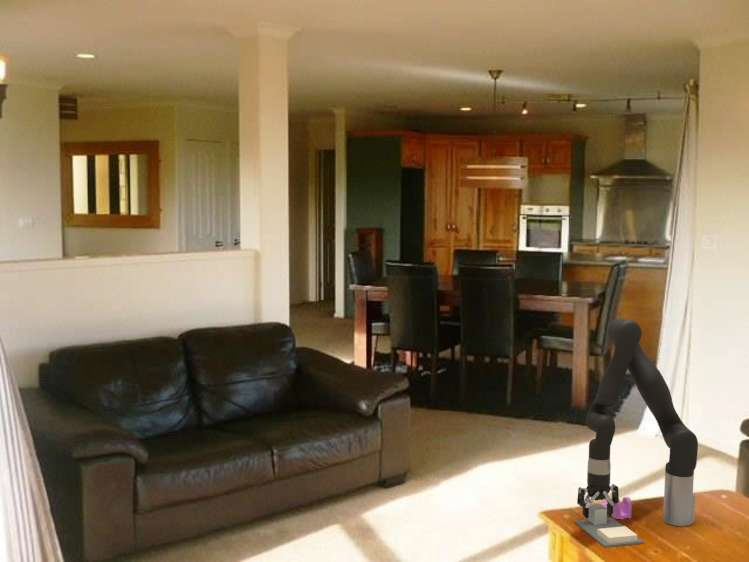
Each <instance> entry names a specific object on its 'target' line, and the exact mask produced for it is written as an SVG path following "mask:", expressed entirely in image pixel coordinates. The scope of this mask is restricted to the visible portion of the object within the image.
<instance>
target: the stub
mask: <svg viewBox="0 0 749 562" xmlns="http://www.w3.org/2000/svg"><path fill="white" fill-rule="evenodd" d="M588 508H589V518H587V520H589V521H590V522H591V523H593V524H594V525H601V524H606V521H607V518H608V517H607V516H608V515H607V508H605V507H604V506H603V505H601V503H599V502H598V503H591V504H590V505H589V507H588Z"/></svg>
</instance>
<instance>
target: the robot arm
mask: <svg viewBox="0 0 749 562" xmlns="http://www.w3.org/2000/svg"><path fill="white" fill-rule="evenodd" d="M642 333H643V330H642V328H641V325H640V324H639V323H638V322H636V321H635V320H632V319H628V318H615V319H613V320H612V321H610V323H609V324H608V328H607V334H608V338H609V339H610V341H611V343H612V344H613V346H614V351H613V354H612V355H613V356H612V357H611V359H610V362H609V364H608V366H607V367H606V370H605V372H604V373H603V375H602V377H601V379H600V383H599V386H598V389H597V393H596V397H595V399H594V401H593V402H592V404H591V406H590V408H589V409H588V411H587V413H586V417H585V423H586V426H587V429H589V430H590V431H592V432H594V433H595V438H593V439H591V440H589V443H588V459H587V470H586V471H587V473H586V474H587V478H586V483H587V486H586V488H585V487H581V486H580V487H578V490H577V499H576V501H577V502H576V503H577V505H579V506H580V507H581V508H582V516H583V517H584V518H585V519H588V518H589V508H588V507H589V505H590V504H594V502H595V501H596V502H597V501H604V500H605V502H607V503H608V504H607V516H608V517H612V516H611V515H612V514H613V505H614V504H615V503H618V502H619V500H620V498H619V496H620V495H619V492H620V491H619V487H618V486H617V485H616V484H613V483H612V484H611V465H612V464H611V446H612V442H613V438H614V435H615V432H616V422H615V419H614V418H613V417H612V416H611V415H609V414H607V413H608V411H609V409H610V408H615V407H616V406H617V404H618V402H619V397H620V394H621V390H622V387H623V383H624V380H625V376H626V373H627V371H628V372H629V374H630V375H631V377H632V379H633V382H634V384H635V386H636V388H637V390H638V393H639V395H640V396H641V398H642V400H643V401H644V403H645V405H646V406H647V408H648V409H649V411H650V412H651V414H652V415H653V417H654V418H655V419H654V420H655V421H656V422H657V426H658V427H659V430H660V433H661V435H662V438H663V440H664V443H665V445H666V446H667V447H668V448H669V458H668V462H666V463H665V467H664V468H665V469H664V470H665V471H664V472H665V473H664V492H663V493H664V494H663V514H662V517H663V518H662V520H663V522H664V523H666V524H668V525H670V526H674V527H675V526H676V527H688V526H690V525H692V524H695V512H696V511H695V509H696V495H694V480H695V477H694V475H695V470H696V467H697V464H698V463H697V461H698V451H699V441H698V438H697V437H698V436H696V434H695V433H694V432H693V431H692V430H690V429H689V428H688V427H687V426H686V424H684V422H683V421H682V419H681V418H680V416H679V414H678V413H677V411H676V409H675V407H674V402H673V398H672V395H671V391H670V389H669V387H668V384H667V383H666V380H665V378H664V376H663V375H662V373H661V371H660V370H659V369H658V367H657V366H656V365H655V364H654V362H653V361H652V360H651V359H650V357H648V355H646V353H645V352H644V350H643V349H642V347H641V345H640V341H641V338H642ZM610 484H611V485H610ZM610 492H611V497H610V495H609V493H610ZM585 495H586V496H585Z"/></svg>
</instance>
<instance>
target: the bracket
mask: <svg viewBox="0 0 749 562" xmlns="http://www.w3.org/2000/svg"><path fill="white" fill-rule="evenodd" d="M600 504H601V505H603V506H604V507H605V508H607V504H608V503H607V501H605V502H604V501H603V502H601V503H600ZM632 505H633V502H632V499H631V498H630V497H629V496H626V497H625V496H624V497H622V502H621V500H620V499H619V502H618V503H615V504H614V505H613V514H612V515H611V516H610V517H612V516H613V517H614V518H613V517H612V518H613V519H615V518H616V519H621V520H627V519H626V518H629V519H632V511H633V510H632V508H633V506H632ZM624 518H625V519H624ZM616 519H615V520H616Z"/></svg>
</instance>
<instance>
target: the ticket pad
mask: <svg viewBox="0 0 749 562" xmlns="http://www.w3.org/2000/svg"><path fill="white" fill-rule="evenodd" d="M574 524H575V525H576V526H578V527H579V528H581V530H583V531H584V532H585V533H587V534H588V535H589V536H590V538H592V539H593V540H595V541H596V542H598V543H599V544H600V545H601V546H603V548H611V547H612V548H613V547H622V546H623V545H625V546H631V545H642V544H645V541H644V540H642V539H641V538H640V537H639V536H638V534H637V533H635V532H634V531H632V530H631V529H629V527H627V526H626V525H623V524H621V523H620V522H619V521H618V520H616V519H615V518H613V517H612V516H609V517H607V521H606V524H601V525H594V524H593V523H591V522H590V521H589V520H588V519H581V520H580V519H579V520H574ZM623 547H624V546H623Z"/></svg>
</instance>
